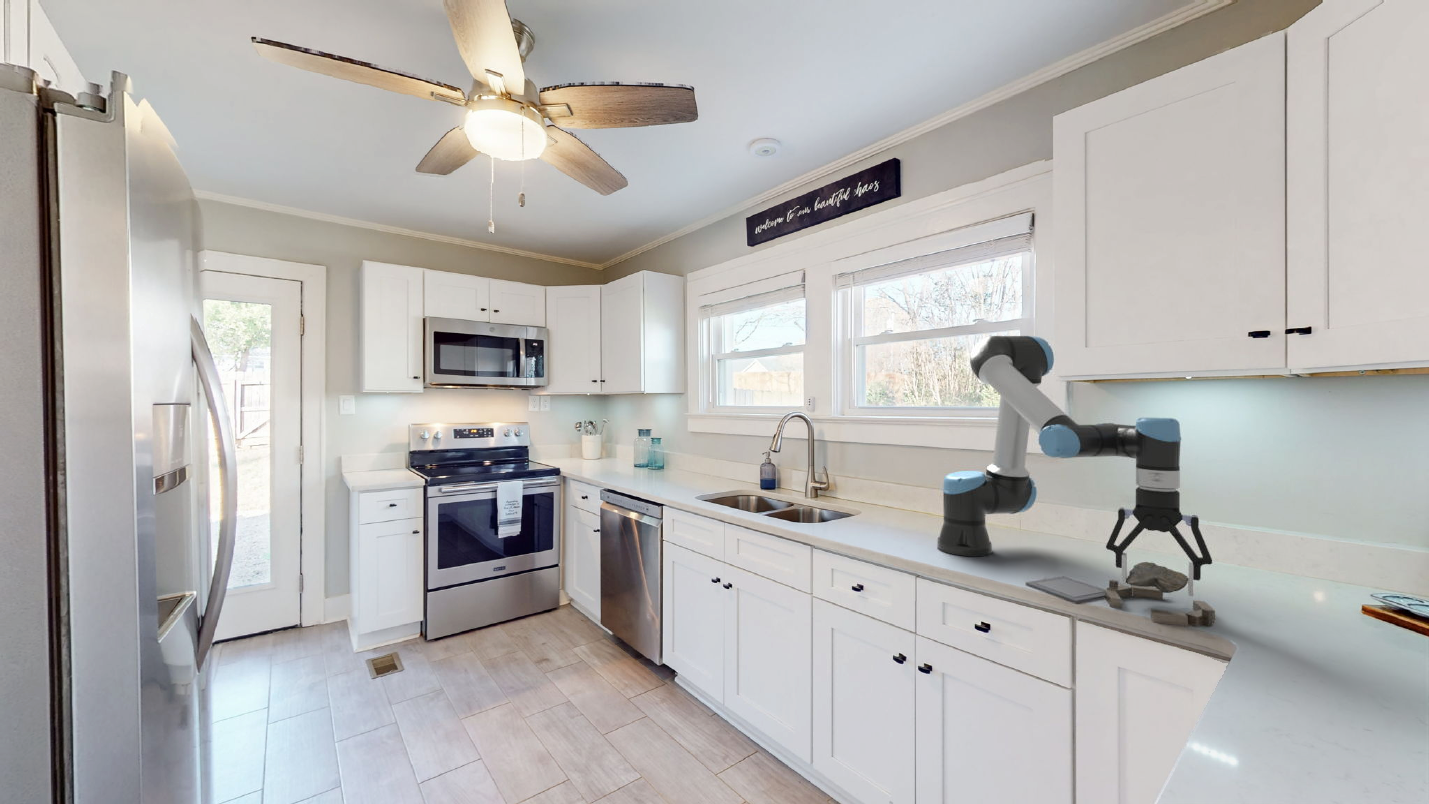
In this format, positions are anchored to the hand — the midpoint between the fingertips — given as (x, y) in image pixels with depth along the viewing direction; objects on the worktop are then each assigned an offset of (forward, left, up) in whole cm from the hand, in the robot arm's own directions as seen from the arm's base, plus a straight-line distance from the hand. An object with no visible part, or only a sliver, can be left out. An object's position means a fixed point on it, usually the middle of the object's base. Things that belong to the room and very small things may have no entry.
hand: (1156, 588), depth 121 cm
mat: (-15, -7, -4) cm, 17 cm away
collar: (0, 0, -4) cm, 4 cm away
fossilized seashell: (0, +1, -1) cm, 1 cm away
